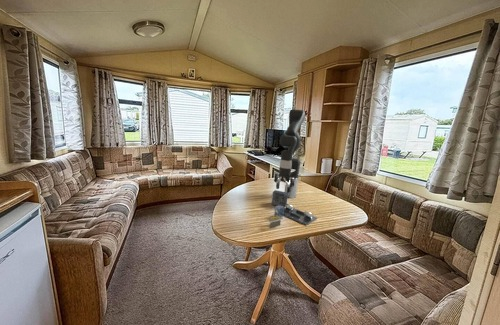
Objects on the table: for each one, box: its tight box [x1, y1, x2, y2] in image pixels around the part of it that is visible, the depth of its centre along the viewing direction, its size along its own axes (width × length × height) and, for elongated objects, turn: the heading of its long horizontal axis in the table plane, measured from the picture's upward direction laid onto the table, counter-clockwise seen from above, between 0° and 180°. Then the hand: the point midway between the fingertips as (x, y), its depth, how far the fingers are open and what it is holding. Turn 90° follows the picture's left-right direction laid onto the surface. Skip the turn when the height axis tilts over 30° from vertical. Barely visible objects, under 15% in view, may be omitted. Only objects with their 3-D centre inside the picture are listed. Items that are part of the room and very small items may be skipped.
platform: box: [267, 215, 284, 229], centre depth 131 cm, size 12×18×7 cm, turn 122°
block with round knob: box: [273, 205, 285, 218], centre depth 144 cm, size 7×4×7 cm, turn 135°
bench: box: [283, 203, 318, 226], centre depth 146 cm, size 21×14×6 cm, turn 45°
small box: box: [271, 189, 288, 208], centre depth 163 cm, size 11×6×10 cm, turn 65°
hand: (282, 190), depth 140 cm, fingers open, 8 cm apart
